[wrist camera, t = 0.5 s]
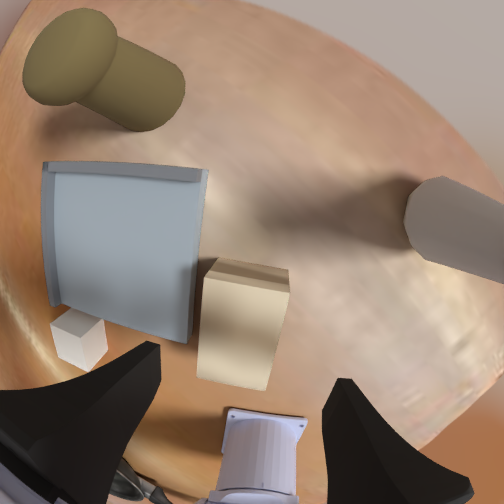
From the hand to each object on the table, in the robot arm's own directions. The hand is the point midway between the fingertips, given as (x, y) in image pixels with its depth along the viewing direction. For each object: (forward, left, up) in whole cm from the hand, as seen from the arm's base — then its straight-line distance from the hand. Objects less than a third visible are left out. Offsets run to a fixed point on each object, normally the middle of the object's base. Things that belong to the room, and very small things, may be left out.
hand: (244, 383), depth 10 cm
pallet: (-2, +1, -10) cm, 11 cm away
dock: (+1, +12, -10) cm, 16 cm away
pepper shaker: (+13, +11, -10) cm, 20 cm away
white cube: (-8, +16, -10) cm, 21 cm away
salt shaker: (+8, -11, -10) cm, 17 cm away
